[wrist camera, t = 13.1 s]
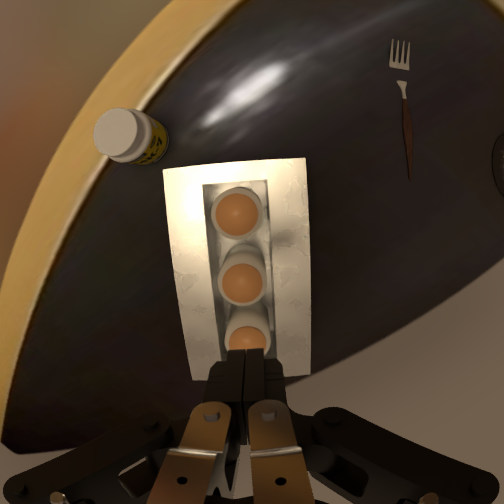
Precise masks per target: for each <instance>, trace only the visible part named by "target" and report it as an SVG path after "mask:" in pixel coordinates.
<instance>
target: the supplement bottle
mask: <svg viewBox="0 0 504 504" xmlns="http://www.w3.org/2000/svg"><path fill="white" fill-rule="evenodd" d="M93 139H94V143H95V146H96V147H97V149H98V150H99V151H100V152H101V153H102V154H104V155H107V156H108V157H110V158H111V159H112V160H114V161H117V162H121V163H131V164H139V165H149V164H152V163H155V162H156V161H158V160H159V159H160V158H161V157H162V156H163V155H164V153H165V152H166V150H167V147H168V143H169V137H168V133H167V131H166V129H165V127H164V126H163V125H162V124H161V123H159V122H158V121H156V120H154V119H153V118H151V117H149V116H148V115H146V114H144V113H143V112H141V111H139V110H136V109H125V108H113V109H110V110H108V111H107V112H105V113H104V114H103V115H102V116H101V117H100V118H99V119H98V121H97V123H96V125H95V128H94V133H93Z"/></svg>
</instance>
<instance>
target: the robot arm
mask: <svg viewBox="0 0 504 504" xmlns="http://www.w3.org/2000/svg"><path fill="white" fill-rule="evenodd" d="M492 165H493V173H494V177H495V181H496V184H497V186H498V188H499V190H500V192H501V193H502V194H503V196H504V134H503V135H501V136H500V138H499V139H498V140H497V142H496V144H495V147H494V150H493V163H492ZM247 435H248V442H249V445H250V450H251V453H250V459H251V472H252V484H253V496H249V497H245V498H240V499H233V496H234V490H235V484H236V479H237V473H238V467H239V461H240V459H239V454H240V445H247ZM144 457H145V458H146V460H145V461H144V462H142V463H140V464H139V465H137V466H135V467H133V468H132V469H130V470H128V471H127V472H125V473H123V474H121V475H120V476H118V475H119V473H120V472H121V471H122V470H124V469H125V468H127V467H129V466H130V465H132V464H134V463H136V462H137V461H139V460H140V459H142V458H144ZM307 471H309V472H310V474H311V476H312V477H314V478H315V479H316V480H318V481H319V482H321V483H322V484H324V485H325V486H327V487H328V488H330V489H331V490H333V491H334V492H336V493H337V494H339V495H341V496H342V497H344V498H345V499H347V500H348V501H350V502H352V503H353V504H492V502H493V501H494V500H495V499H496V497H497V496H498V493H499V488H500V487H499V482H498V480H497V478H496V477H495V476H494V475H493V474H491V473H490V472H487V471H484V470H481V469H479V468H476V467H473V466H470V465H468V464H465V463H462V462H460V461H457V460H455V459H452V458H450V457H447V456H445V455H442V454H440V453H437V452H435V451H432V450H430V449H428V448H425V447H423V446H420V445H418V444H416V443H414V442H412V441H409V440H407V439H405V438H403V437H401V436H398V435H396V434H394V433H392V432H390V431H388V430H386V429H384V428H382V427H379V426H377V425H375V424H373V423H371V422H369V421H367V420H365V419H363V418H361V417H359V416H357V415H355V414H353V413H351V412H349V411H347V410H345V409H343V408H339V407H328V408H324V409H321V410H319V411H318V412H316V413H315V415H314V416H306V415H301V414H298V413H295V412H294V411H292V410H291V409H290V408H289V407H288V405H287V400H286V391H285V382H284V374H283V366H282V364H281V363H280V361H279V360H278V359H277V358H273V359H264V348H252V349H247V350H246V349H233V350H228V354H227V360H226V361H216V363H215V364H214V365H213V366H212V367H211V368H210V371H209V375H208V379H207V383H206V388H205V392H204V396H203V400H202V404H200V405H198V406H197V407H196V408H195V409H194V410H193V412H192V414H191V416H190V417H188V418H185V419H180V420H175V421H169V418H168V417H167V416H166V415H164V414H162V413H159V412H147V413H144V414H141V415H139V416H137V417H135V418H134V419H132V420H130V421H128V422H126V423H124V424H123V425H121V426H119V427H117V428H115V429H113V430H111V431H109V432H107V433H106V434H104V435H102V436H100V437H98V438H96V439H94V440H92V441H90V442H88V443H86V444H84V445H82V446H80V447H78V448H76V449H73V450H71V451H69V452H67V453H65V454H63V455H61V456H59V457H57V458H54V459H52V460H50V461H48V462H45V463H43V464H41V465H39V466H36V467H34V468H32V469H29V470H27V471H25V472H22V473H20V474H17V475H15V476H13V477H11V478H9V479H8V480H7V481H6V483H5V484H4V487H3V494H4V497H5V499H6V500H7V501H8V502H9V503H10V504H328V503H326V502H323V501H319V500H315V499H314V496H313V492H312V488H311V484H310V480H309V477H308V473H307Z"/></svg>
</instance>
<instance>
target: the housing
mask: <svg viewBox="0 0 504 504" xmlns="http://www.w3.org/2000/svg"><path fill="white" fill-rule="evenodd" d="M163 176H164V188H165V199H166V210H167V219H168V228H169V237H170V245H171V253H172V261H173V269H174V276H175V283H176V290H177V296H178V303H179V309H180V315H181V321H182V327H183V333H184V338H185V344H186V349H187V354H188V359H189V365H190V370H191V375H192V379H193V380H207V379H208V375H209V371H210V368H211V367H212V366H213V365H214V364H215V363H216V361H226V360H227V354H228V351H227V349H226V347H225V334H226V329H227V323H228V318H229V312H230V309H231V307H232V306H233V304H232V303H230V302H229V301H227V300H226V299H225V298H224V297H223V296H222V294H221V293H220V291H219V288H218V276H219V273H220V270H221V267H222V265H223V262H224V259H225V257H226V255H227V253H228V252H229V250H230V249H232V248H233V247H235V246H237V245H241V244H248V245H252V246H254V247H256V248H257V249H259V250H260V252H261V253H262V254H263V256H264V259H265V266H266V274H267V289H266V291H265V293H264V295H263V296H262V298H261V299H260V300H259V301H261V302H262V303H263V304H264V305H265V307H266V308H267V311H268V318H269V328H270V339H271V344H270V348H269V350H268V352H267V353H266V354H265V355H264V359H273V358H277V359H278V360H279V361H280V363H281V364H282V366H283V374H284V377H287V376H298V375H308V374H310V359H311V273H310V236H309V212H308V192H307V175H306V159H305V158H292V159H271V160H255V161H241V162H229V163H217V164H207V165H197V166H188V167H180V168H172V169H164V170H163ZM234 187H246V188H249V189H251V190H253V191H254V192H255V193H256V194H257V195H258V197H259V199H260V201H261V205H262V209H263V220H262V223H261V225H260V227H259V229H258V230H257V231H256V232H255V233H254V234H253V235H252V236H250V237H248V238H246V239H241V240H233V239H229V238H226V237H224V236H223V235H221V234H220V233H219V232H218V231H217V230H216V229H215V227H214V225H213V223H212V219H211V209H212V205H213V203H214V201H215V199H216V198H217V197H218V196H219V195H220V194H221V193H222V192H224V191H226V190H228V189H231V188H234Z"/></svg>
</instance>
